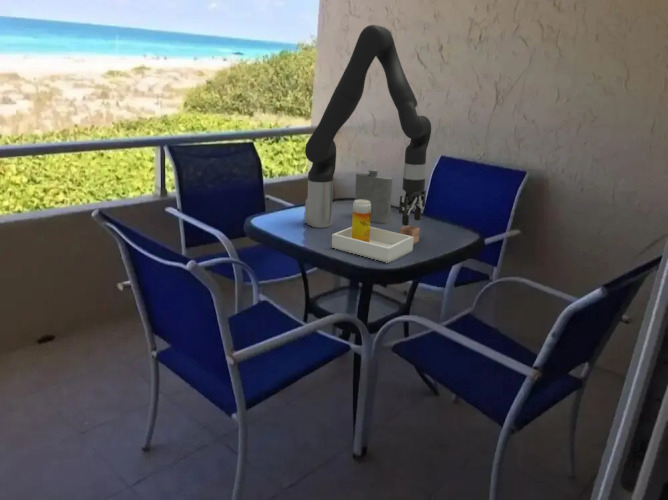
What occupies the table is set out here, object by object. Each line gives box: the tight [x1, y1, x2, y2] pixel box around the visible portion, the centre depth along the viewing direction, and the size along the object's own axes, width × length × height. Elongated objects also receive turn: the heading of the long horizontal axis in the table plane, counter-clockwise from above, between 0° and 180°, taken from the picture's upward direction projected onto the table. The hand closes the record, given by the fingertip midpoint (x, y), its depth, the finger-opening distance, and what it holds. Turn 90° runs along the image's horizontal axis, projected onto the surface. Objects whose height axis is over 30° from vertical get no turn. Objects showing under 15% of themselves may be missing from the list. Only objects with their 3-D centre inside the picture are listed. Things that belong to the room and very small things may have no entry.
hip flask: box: [354, 168, 393, 225], centre depth 225 cm, size 16×4×20 cm, turn 54°
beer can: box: [351, 199, 372, 242], centre depth 194 cm, size 6×6×15 cm
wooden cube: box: [399, 225, 420, 245], centre depth 203 cm, size 5×5×5 cm
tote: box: [331, 226, 414, 264], centre depth 194 cm, size 22×16×5 cm
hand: (411, 222), depth 202 cm, fingers open, 8 cm apart
